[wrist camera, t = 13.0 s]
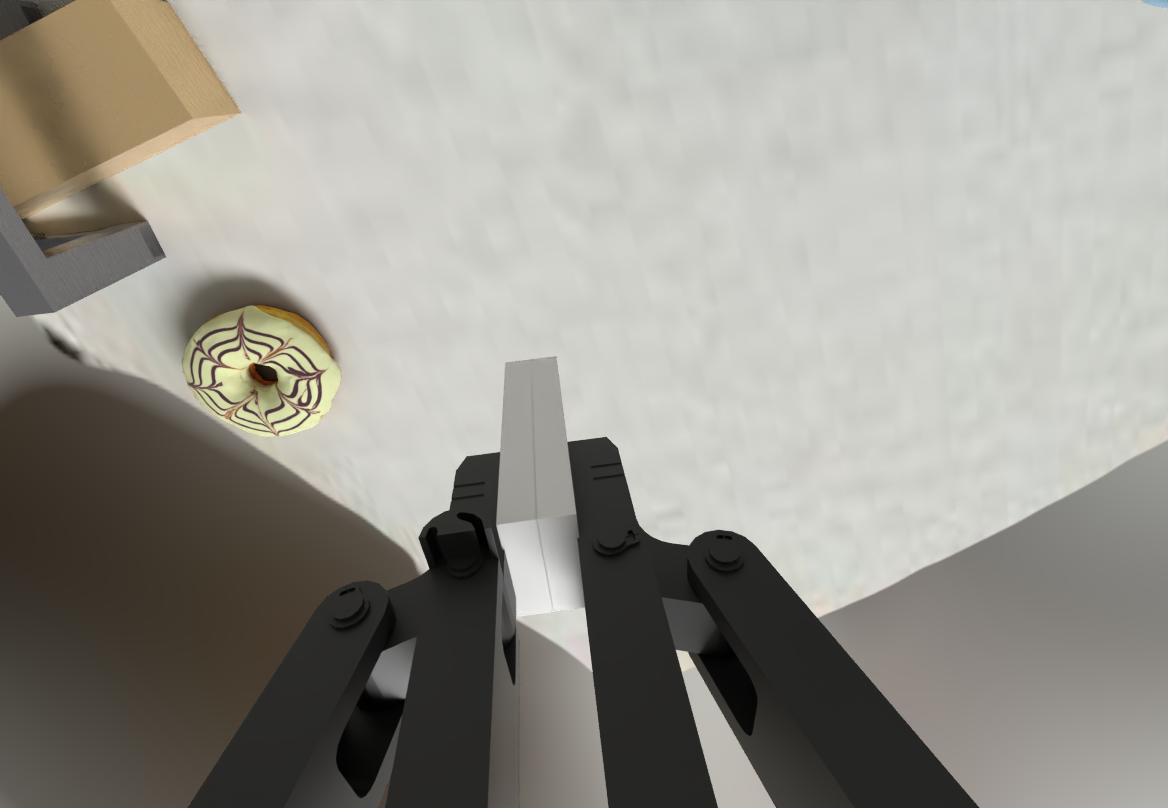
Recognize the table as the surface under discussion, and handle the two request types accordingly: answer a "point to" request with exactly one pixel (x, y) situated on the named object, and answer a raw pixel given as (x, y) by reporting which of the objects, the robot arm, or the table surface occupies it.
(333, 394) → the decorated donut
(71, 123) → the tan wooden brick
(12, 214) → the grey cradle stand
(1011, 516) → the table surface
